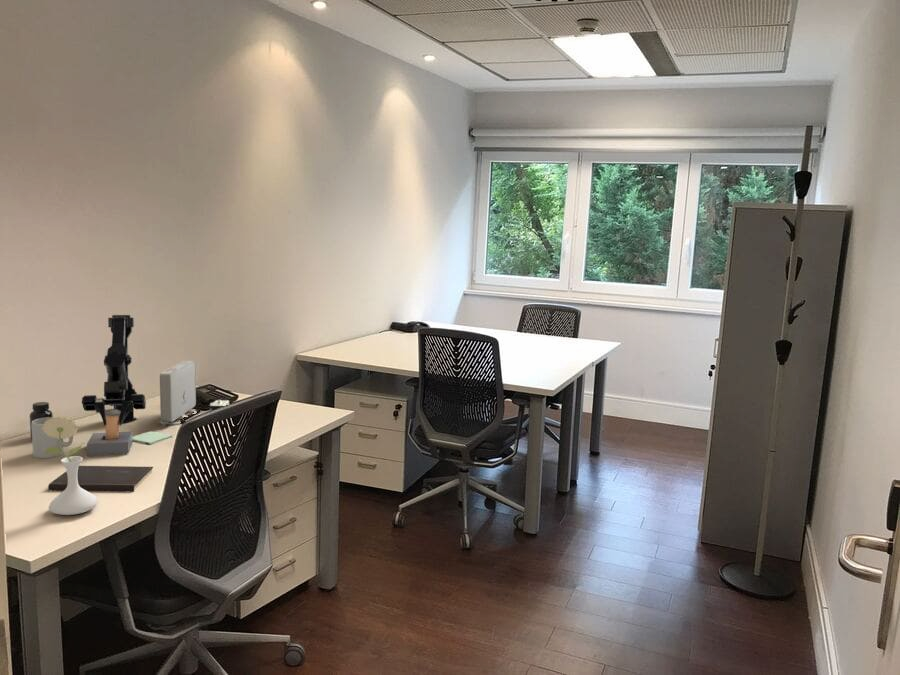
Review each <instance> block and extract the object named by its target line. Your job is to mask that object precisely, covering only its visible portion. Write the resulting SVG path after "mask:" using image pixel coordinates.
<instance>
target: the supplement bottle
mask: <svg viewBox="0 0 900 675" xmlns="http://www.w3.org/2000/svg"><path fill="white" fill-rule="evenodd" d="M53 413H54V412H52V410H50V403H49V402H47V401H39V402H34V403H32V411H31V412H30V414H29V432H30V433H29V434H30V439H31V440H32V421H33V420H36V419H39V418H46V417H54V414H53Z"/></svg>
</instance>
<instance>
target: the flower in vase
mask: <svg viewBox="0 0 900 675" xmlns="http://www.w3.org/2000/svg"><path fill="white" fill-rule="evenodd" d="M55 417H57V418H55ZM44 423H45V424H44V425H43V426H44V427H42V429H43V430H44V433H46V434H47V436H49V437H52V438H55V437H57V439H59V446H60V448H56V447H50V448H48V449H47V450H46V451H45V452H44V453H50V454H58V453H59V452H60V451H62V452H63V454H64V455H65V457H64V458H61V459H60V462H61V463H62V464H63V465H64V468H65V469H66V471H67V476H68V485H67V488H66V489H65V490H64V491H61V493H59V494H58V495H56V497H54V498H53V500H51V502H50V503H49V506H48V510H49V511H50V512H51V513H53V514H55V515H61V516H71V515H78V514H83V513H85V512H89V511H91V510H92V509H95V508H96V507H97V505H98V503H99V500H98V497H97V496H95V495H94V493H91V491H86V490H84V489H82V488H81V487H80V486H79V484H78V479H77V474H78V467H79V466H80V464H81V463H82V461H83V457H82V456H78V455H75V456H74V454H76V453H77V452H79V450H80V449H81V448H82V447H83V444H81V445H79V446H77V447H74V448H72V449H71V450H70V451H69V452H68V453H66V452H65V451H63V449H62V448H61V439H63V440H66V439H69V438H70V437H71V436H73V437H74V436H76V435H77V434H76V433H78V430H79V428H78V427H79V426H78V425H77V424H76V423H77V422H76V421H73V418H72V419H71V418H67V417H66V416H62V417H61V416H53V417H52V418H51V419H50V420H49V419H48V420H47V421H45V422H44ZM69 455H73V456H69ZM66 471H65V472H66Z"/></svg>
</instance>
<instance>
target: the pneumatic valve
mask: <svg viewBox="0 0 900 675" xmlns="http://www.w3.org/2000/svg"><path fill="white" fill-rule="evenodd" d="M226 405H229V406H230V399H215V401H213V402H210V403H209V410H208V411H211V410H214V409H217V408H220V407H223V406H226Z"/></svg>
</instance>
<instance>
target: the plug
mask: <svg viewBox="0 0 900 675" xmlns="http://www.w3.org/2000/svg"><path fill="white" fill-rule="evenodd" d="M120 414H121V410H118V409H114V408H108V409H105V415H106V425H105V432H104V433H105V440H114V439H118V437H119V432H120V425H119V416H120Z"/></svg>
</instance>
